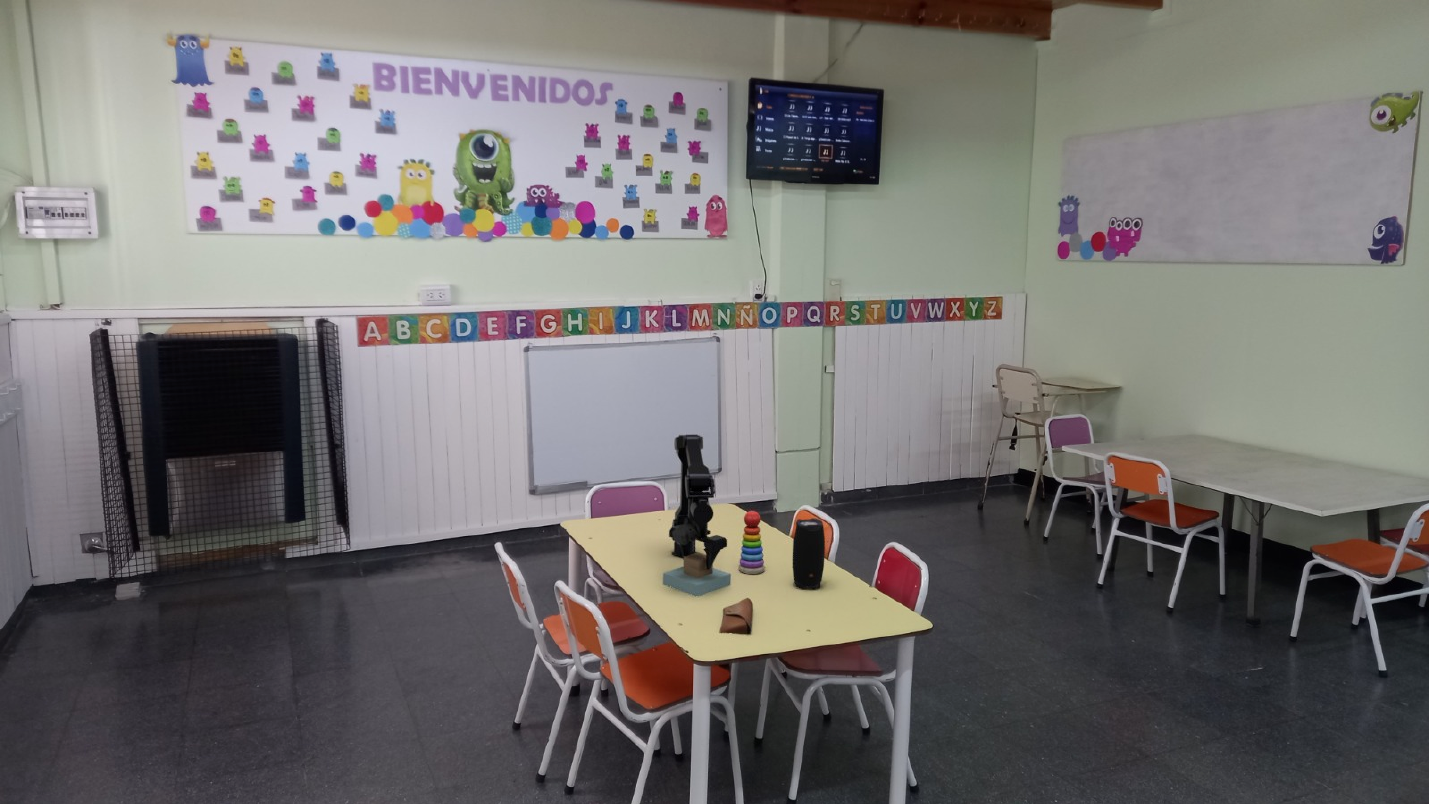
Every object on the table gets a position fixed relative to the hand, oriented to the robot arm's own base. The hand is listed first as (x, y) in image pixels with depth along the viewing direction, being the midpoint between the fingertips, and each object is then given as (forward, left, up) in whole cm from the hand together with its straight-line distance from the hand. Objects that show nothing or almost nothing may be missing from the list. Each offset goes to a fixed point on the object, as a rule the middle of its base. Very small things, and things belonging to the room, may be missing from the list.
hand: (697, 565), depth 277 cm
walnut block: (0, 0, -2) cm, 2 cm away
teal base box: (0, 0, -6) cm, 6 cm away
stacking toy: (-21, +3, -6) cm, 22 cm away
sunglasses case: (+12, +27, -6) cm, 30 cm away
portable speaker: (-23, +23, -6) cm, 33 cm away
